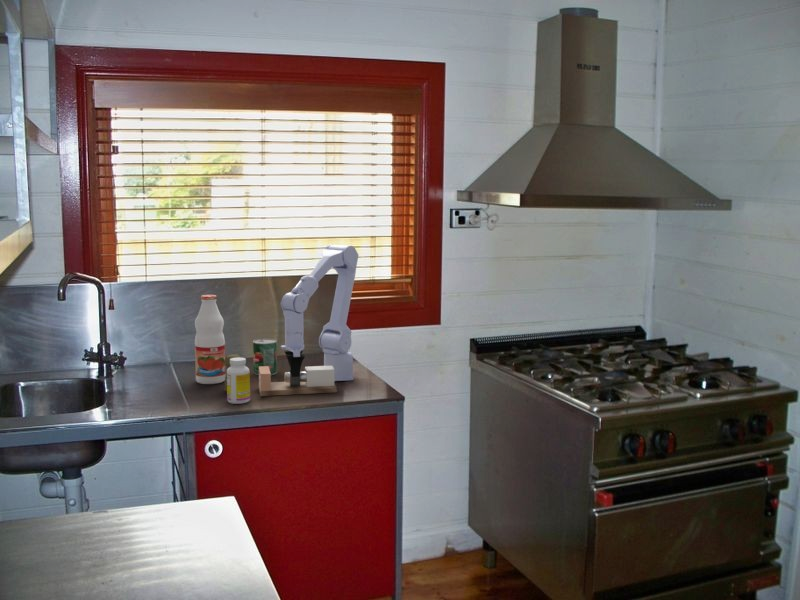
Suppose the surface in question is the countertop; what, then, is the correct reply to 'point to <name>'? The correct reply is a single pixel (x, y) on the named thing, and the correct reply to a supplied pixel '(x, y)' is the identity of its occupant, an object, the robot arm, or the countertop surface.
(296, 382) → the tube
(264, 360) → the canned tomato
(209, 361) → the fruit juice
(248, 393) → the supplement bottle
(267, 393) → the tan board
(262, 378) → the socket block
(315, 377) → the sleeve
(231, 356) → the olive tan rounded piece
